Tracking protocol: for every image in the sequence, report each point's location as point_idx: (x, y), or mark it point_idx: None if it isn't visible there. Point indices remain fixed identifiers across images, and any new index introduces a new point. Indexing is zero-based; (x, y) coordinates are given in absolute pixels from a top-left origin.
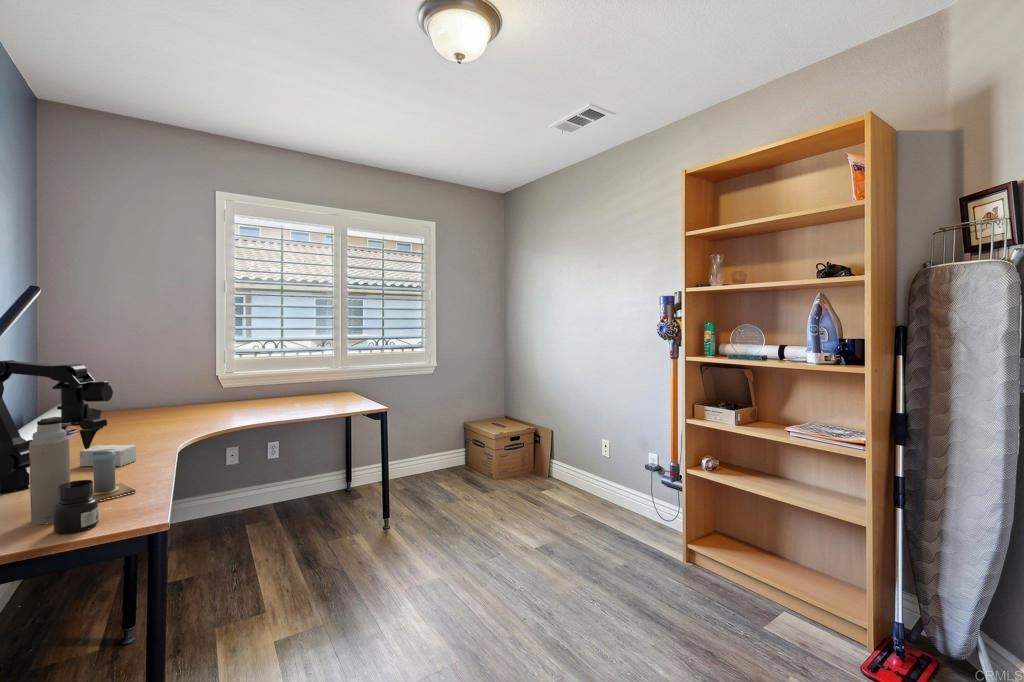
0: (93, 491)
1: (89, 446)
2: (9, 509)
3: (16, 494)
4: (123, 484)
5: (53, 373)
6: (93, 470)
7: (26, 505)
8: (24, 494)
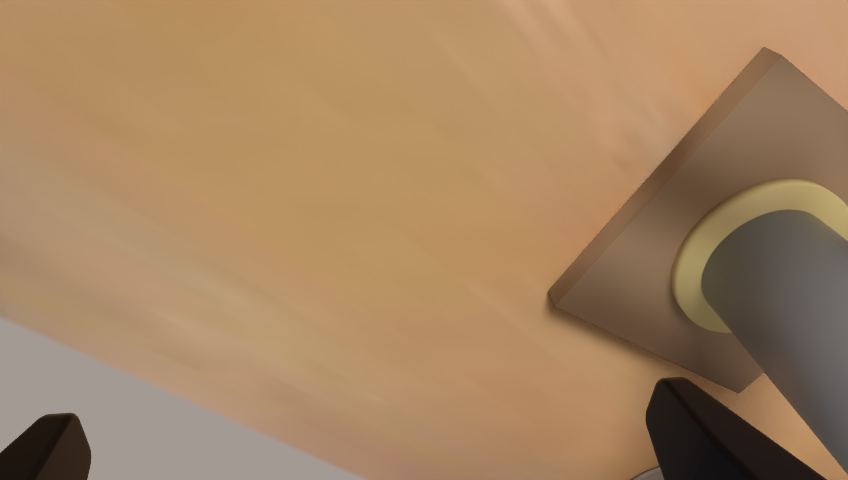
0: (702, 299)
1: (712, 404)
2: (346, 467)
3: (50, 301)
4: (823, 94)
5: None
6: (820, 440)
7: (380, 423)
8: (118, 294)
